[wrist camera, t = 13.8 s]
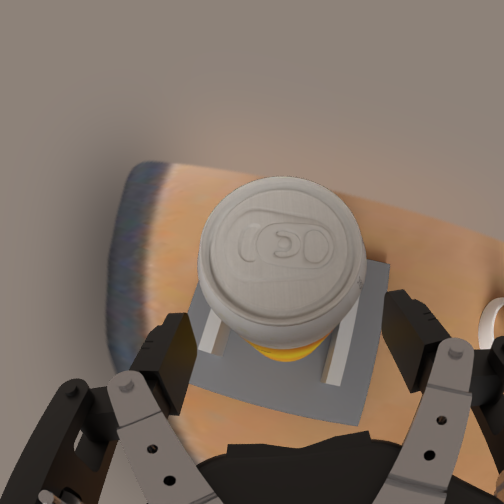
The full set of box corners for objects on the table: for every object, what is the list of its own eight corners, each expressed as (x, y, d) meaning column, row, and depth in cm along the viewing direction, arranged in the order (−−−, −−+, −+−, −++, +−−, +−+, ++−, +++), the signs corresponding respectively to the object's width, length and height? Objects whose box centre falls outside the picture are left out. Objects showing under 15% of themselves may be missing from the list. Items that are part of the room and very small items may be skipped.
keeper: (386, 269, 25) (403, 247, 21) (354, 424, 20) (369, 434, 15) (220, 233, 28) (208, 207, 24) (172, 375, 23) (148, 373, 19)
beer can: (253, 285, 24) (207, 166, 11) (326, 291, 24) (368, 173, 10) (243, 357, 22) (170, 324, 9) (320, 365, 21) (374, 344, 8)
